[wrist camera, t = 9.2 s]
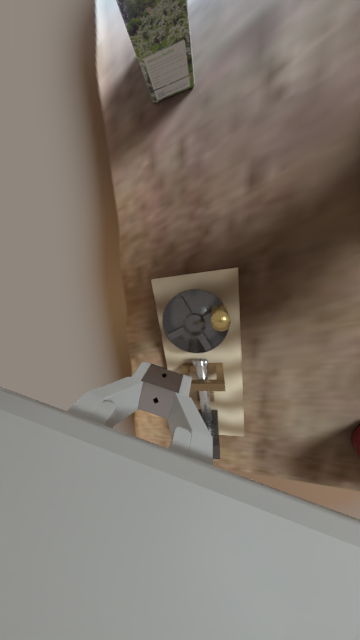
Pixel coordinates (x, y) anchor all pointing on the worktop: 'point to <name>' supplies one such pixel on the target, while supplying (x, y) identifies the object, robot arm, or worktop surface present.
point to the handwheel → (196, 321)
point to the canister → (356, 440)
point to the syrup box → (161, 44)
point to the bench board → (226, 353)
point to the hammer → (208, 406)
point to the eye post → (206, 384)
